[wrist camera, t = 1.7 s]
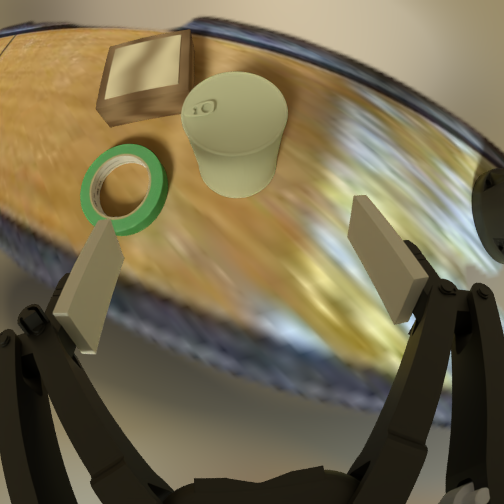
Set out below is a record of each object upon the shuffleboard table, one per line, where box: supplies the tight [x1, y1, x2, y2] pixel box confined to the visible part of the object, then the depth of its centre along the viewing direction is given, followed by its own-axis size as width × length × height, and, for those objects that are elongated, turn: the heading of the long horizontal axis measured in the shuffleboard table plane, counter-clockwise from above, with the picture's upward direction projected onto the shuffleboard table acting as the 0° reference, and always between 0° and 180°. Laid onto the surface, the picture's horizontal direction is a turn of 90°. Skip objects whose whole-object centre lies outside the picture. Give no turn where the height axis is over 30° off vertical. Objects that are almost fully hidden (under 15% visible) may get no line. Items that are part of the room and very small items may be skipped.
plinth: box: [96, 29, 195, 127], centre depth 33 cm, size 12×12×5 cm
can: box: [181, 71, 288, 198], centre depth 29 cm, size 9×9×12 cm
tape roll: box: [80, 144, 168, 236], centre depth 33 cm, size 11×11×3 cm
